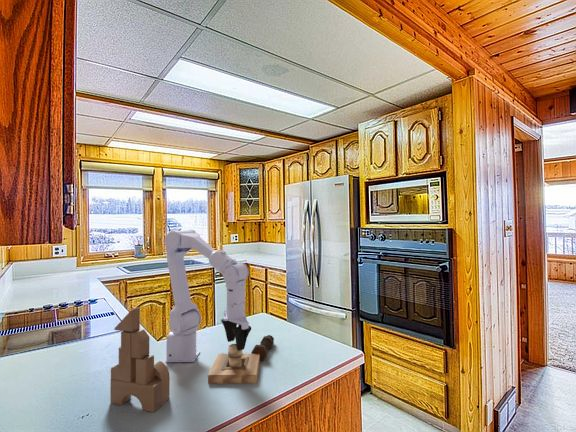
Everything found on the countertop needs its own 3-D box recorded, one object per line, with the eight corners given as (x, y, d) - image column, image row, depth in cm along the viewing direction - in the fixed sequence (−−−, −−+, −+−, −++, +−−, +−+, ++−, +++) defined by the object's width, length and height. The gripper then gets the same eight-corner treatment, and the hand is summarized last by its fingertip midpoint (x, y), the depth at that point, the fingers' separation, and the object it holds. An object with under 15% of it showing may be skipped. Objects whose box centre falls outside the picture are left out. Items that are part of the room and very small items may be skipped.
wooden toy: (171, 397, 84) (171, 305, 84) (153, 412, 77) (154, 312, 77) (124, 388, 88) (125, 300, 88) (104, 402, 82) (105, 307, 82)
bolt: (271, 348, 119) (260, 365, 105) (261, 341, 120) (248, 356, 106) (279, 336, 119) (269, 351, 104) (268, 328, 120) (256, 342, 105)
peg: (232, 377, 94) (232, 350, 94) (225, 371, 98) (225, 345, 98) (245, 372, 97) (245, 347, 97) (238, 367, 101) (238, 342, 101)
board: (208, 383, 91) (208, 374, 91) (218, 361, 105) (218, 353, 105) (255, 383, 91) (255, 374, 91) (259, 361, 105) (259, 353, 105)
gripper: (215, 298, 102) (215, 340, 102) (233, 309, 90) (232, 357, 90) (235, 295, 106) (235, 335, 106) (255, 306, 93) (254, 351, 93)
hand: (235, 345), depth 98 cm, fingers open, 7 cm apart
